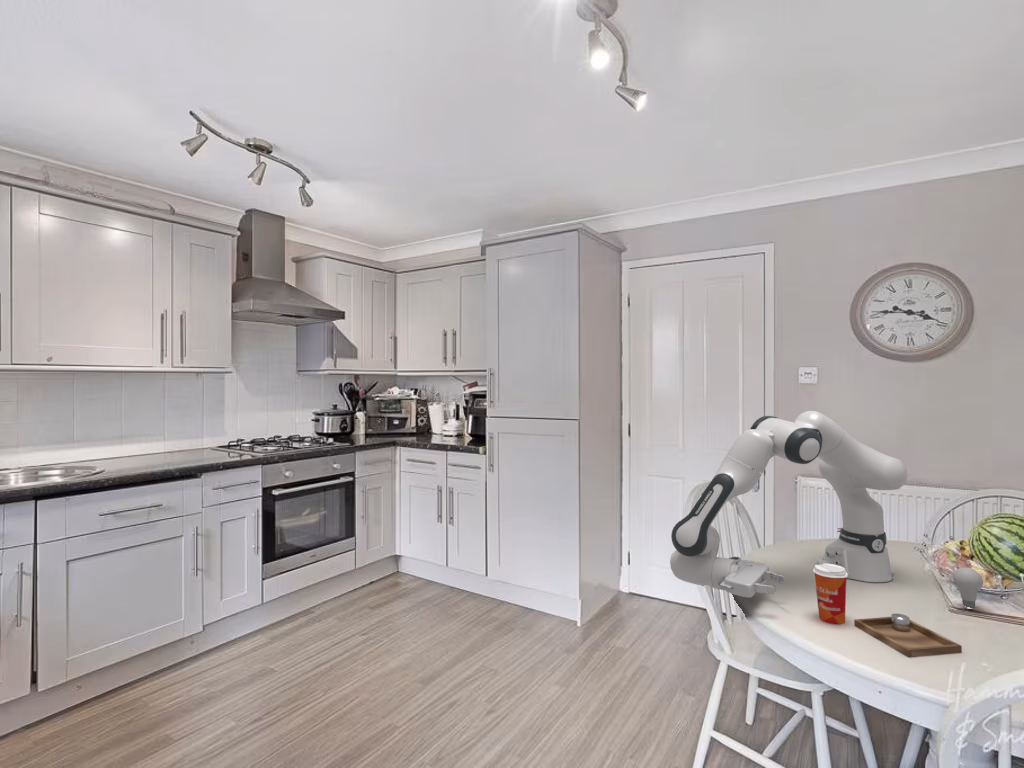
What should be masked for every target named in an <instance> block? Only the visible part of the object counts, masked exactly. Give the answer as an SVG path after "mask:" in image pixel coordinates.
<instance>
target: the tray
mask: <svg viewBox="0 0 1024 768" xmlns="http://www.w3.org/2000/svg"><path fill="white" fill-rule="evenodd" d="M853 623H854V627H855V628H858V629H860V630H861V631H863V632H864V633H866V634H867V635H870V636H871V637H873V638H874V639H876V640H878V641H880V642H882V643H883V644H885V645H886V646H888V647H890V648H892V649H894V650H895V651H897V652H899V653H900V654H902V655H904V656H905V657H907V658H916V657H917V658H918V657H927V656H928V657H929V656H940V655H949V654H950V655H952V654H962V653H963V652H962V651H963V649H962V648H963V646H962V645H961V644H960V643H957V642H956V641H953V640H951V639H949V638H947V637H945V636H943V635H942V634H940V633H937V632H936V631H933V630H932V629H930V628H927V627H925V626H923V625H921V624H919V623H917V622H916V621H913V620H911V619H910V631H909V632H900V631H897V630H894V629H893V628H892V616H883V617H870V618H858V619H857V618H856V619H854V622H853Z"/></svg>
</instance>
